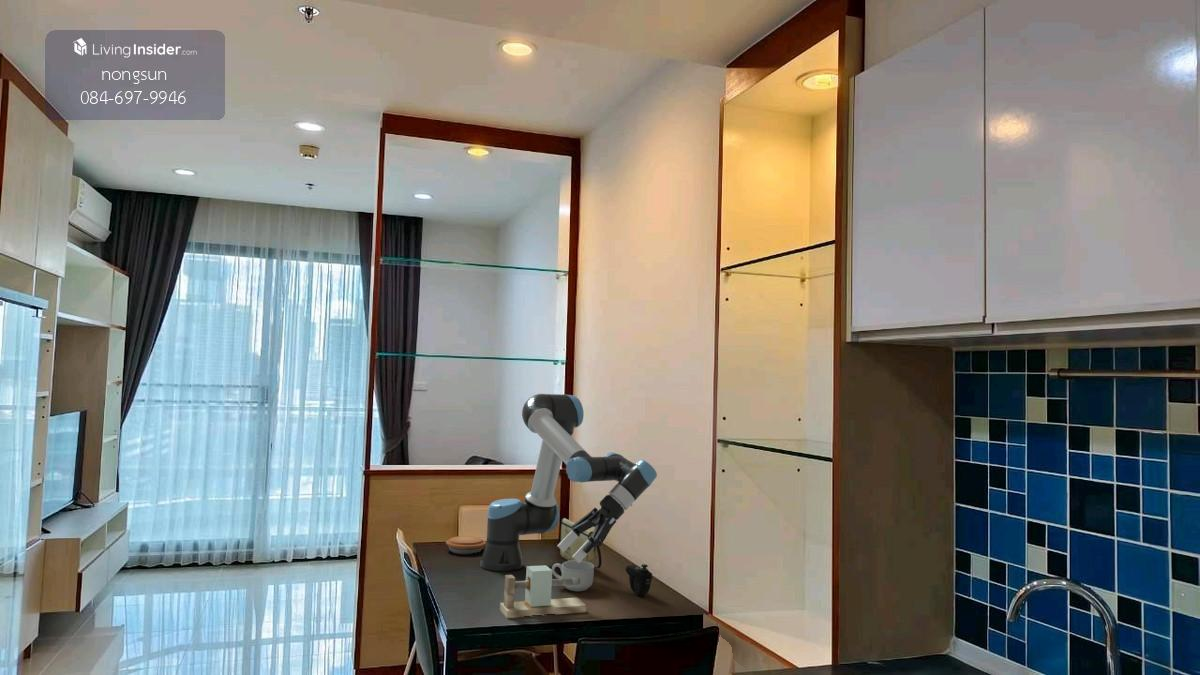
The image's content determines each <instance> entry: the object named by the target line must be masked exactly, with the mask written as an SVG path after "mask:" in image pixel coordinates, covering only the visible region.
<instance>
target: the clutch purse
mask: <svg viewBox="0 0 1200 675" xmlns="http://www.w3.org/2000/svg"><path fill="white" fill-rule="evenodd" d="M575 523H576V522H573V521H572V520H570V519H567V518H566V517H563V518H562V519H561V521H560V531H559V532H560V533H559V535H560V538H559V543H560V542H561V541H562V540H563V539H564V538H565V537H566V536H567V535H568V534H569V533H570V532H571V531H572V527H571V526H572V525H573V524H575ZM593 531H594V530H593ZM593 531H592V530H590V529H588V530H586V531H584V532H582V533H581V534H580V536H579V537H578V538H577V539H576V540H575V541H574V542H573V543H572V544H571V545H570V546H569V547H568V548H567V549H566V550H565V551H564V552H563V551H562V550H561V549H560V548H559V556H560V557H561V558H563V559H565V560H566V561H572V560H575V559H574V558H573V557H572V556H573V555H574V554H575V553H576V552H577V551H578V550H579V549H580V548H581V546H582V545H583V544H584V543H585V542H586V541H587V540H589V539H588V538H590V537H591V536H592V534H593ZM589 541H590V540H589ZM596 550H597V555H598V566H597V567H595V552H596ZM582 561H586V562H590V563H592V564H593V565H594V569H600V568H601V566H602V552H601V549H600V546H598V545H597V546H596V547H595V546H594V548H593V549H592V550H591V551H590V552H589V553H588V554H587V555H586V556H585V557H584V559H583V560H582Z"/></svg>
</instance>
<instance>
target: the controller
mask: <svg viewBox="0 0 1200 675" xmlns="http://www.w3.org/2000/svg"><path fill="white" fill-rule="evenodd" d="M640 566H641V567H639V566H637V565H633V564H632V565H627V566H626V568H625V572H626V573H627V574H628V578H629V580H628V581H629V586H630V590H631V591H632V593H633V594H634V595H636V596H644V595H646V594H648V592H649V591H650V589H651V585H652V584H651V583H652V580H653V579H652V578H653V572H651V571H650V570H649V569H648V567H649V566H648V564H644V563H643V564H641V565H640Z"/></svg>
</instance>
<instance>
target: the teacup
mask: <svg viewBox="0 0 1200 675" xmlns="http://www.w3.org/2000/svg"><path fill="white" fill-rule="evenodd" d="M557 567H558V568H559V569H560V572H561V575H559V574H558V573H557V572H556V570H555V569H556V568H557ZM594 567H595V564H594V565H593V564H592V563H590V562H586V561H581V562H580V563H578V562H577V561H576V560H572V561H568V560H566V561H564V562H563V563H554V564H553V565H552V567H551V570H552V576H554V577H555V578H556V579H564V578H580V581H581V582H580V585H565V586H564V587H565V588H566V590H569V591H571V592H585V591H586V590H588V589H589V588H590V587H591V586H592V585H593V583H594V573H595V568H594Z"/></svg>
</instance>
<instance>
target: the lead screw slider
mask: <svg viewBox="0 0 1200 675" xmlns="http://www.w3.org/2000/svg"><path fill="white" fill-rule="evenodd" d="M530 582H531V580H526V579H525V580H516V577H515V576H514V575H513V574H505V575H504V592H503V602H499V611H500V612H501V613H502V615H503V616H504V617H505V618H506V619H514V618H515V619H516V618H525V617H524V616H530V617H533V616H532V615H542V616H547V615H546V614H555V615H564V614H565V615H568V614H579V613H587V604H585V602H583V601H582V600H581V599H579V598H578V597H566V598H565V597H563V598H551V605H548V606H535V607H531V606H530V605H529V604H528V603H527V602H526V601H525V600H521V601H515V590H516V589H517V590H518V589H525V588H526V589H529V588H530ZM580 582H581V581H580V578H564V579H558V578H552V587H565V585H580ZM544 614H545V615H544Z"/></svg>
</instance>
